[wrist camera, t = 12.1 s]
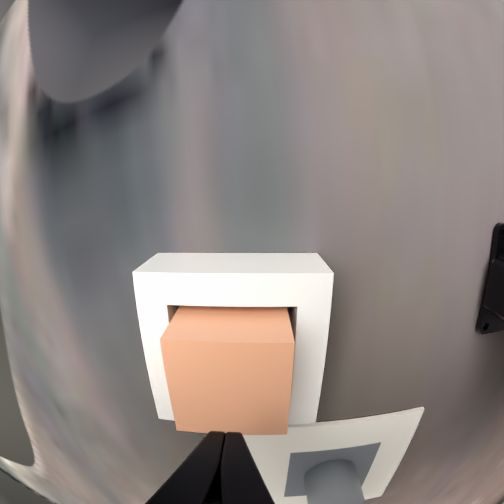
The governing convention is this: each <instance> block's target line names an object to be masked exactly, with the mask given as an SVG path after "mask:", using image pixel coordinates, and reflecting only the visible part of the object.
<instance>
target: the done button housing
mask: <svg viewBox="0 0 504 504" xmlns="http://www.w3.org/2000/svg"><path fill="white" fill-rule="evenodd" d="M333 276H334V273H333V271H332V270H331V269H330V268H329V267H328V265H327V264H326V263H325V262H324V261H323V259H322V258H321V257H320V256H319V255H318V253H157V254H156V255H154V256H153V257H152V258H150V259H149V260H148V261H146V262H145V263H144V264H142V265H141V266H140V267H138V268H137V269H136V270H134V271H133V281H134V289H135V297H136V304H137V312H138V318H139V325H140V331H141V337H142V343H143V348H144V354H145V359H146V364H147V369H148V374H149V379H150V383H151V388H152V392H153V397H154V401H155V405H156V409H157V413H158V417H159V419H166V420H174V416H173V411H172V406H171V401H170V396H169V391H168V386H167V381H166V375H165V369H164V364H163V357H162V351H161V345H160V338H161V336H162V335H163V333H164V331H165V330H166V328H167V326H168V325H169V323H170V321H171V320H172V318H173V316H174V315H175V313H176V311H177V310H178V308H179V306H180V305H185V306H226V307H288V314H289V318H290V323H291V327H292V332H293V336H294V341H295V349H294V363H293V375H292V388H291V399H290V410H289V420H288V425H293V424H311V423H316V417H317V411H318V405H319V399H320V392H321V386H322V379H323V372H324V364H325V357H326V349H327V340H328V331H329V322H330V312H331V301H332V289H333ZM174 421H175V420H174Z"/></svg>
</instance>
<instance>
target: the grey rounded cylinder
mask: <svg viewBox="0 0 504 504" xmlns="http://www.w3.org/2000/svg"><path fill="white" fill-rule="evenodd" d="M304 480H305V488H306V495H307V503H308V504H366V502H365V498H364V495H363V491H362V488H361V484H360V481H359V478H358V474H357V471H356V468H355V465H354V463H352V462H351V461H348V460H343V459H337V460H330V461H326V462H323V463H320V464H317V465H315V466H314V467H312V468H311V469H309V470H308V471H307V472H306V474H305V476H304Z"/></svg>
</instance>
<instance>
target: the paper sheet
mask: <svg viewBox="0 0 504 504" xmlns="http://www.w3.org/2000/svg"><path fill="white" fill-rule="evenodd" d="M424 410H425V409H424V407H418V408H413V409H409V410H404V411H399V412H393V413H388V414H382V415H376V416H369V417H362V418H355V419H347V420H338V421H327V422H316V423H311V424H293V425H288V430H287V434H286V435H243V437H244V439H245V441H246V444H247V446H248V448H249V450H250V453H251V455H252V457H253V459H254V461H255V463H256V466H257V468H258V470H259V472H260V474H261V476H262V478H263V480H264V482H265V484H266V487H267V489H268V491H269V493H270V495H271V497H272V499H273V501H274V503H275V504H308V503H307V495H306V488H305V480H304V476H305V474H306V472H307V471H308V470H309V469H311V468H312V467H314V466H315V465H317V464H320V463H323V462H326V461H330V460H337V459H343V460H348V461H351V462H352V463H354V465H355V468H356V471H357V474H358V478H359V481H360V484H361V488H362V491H363V495H364V498H365V500H366V499H371V498H375V497H380V496H381V495H382V494H383V492H384V490H385V489H386V487H387V485H388V484H389V482H390V480H391V478H392V477H393V475H394V473H395V471H396V469H397V467H398V466H399V464H400V462H401V460H402V458H403V456H404V454H405V452H406V450H407V448H408V446H409V444H410V442H411V439H412V437H413V435H414V433H415V431H416V428H417V426H418V424H419V422H420V419H421V417H422V414H423V412H424Z"/></svg>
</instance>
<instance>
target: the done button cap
mask: <svg viewBox="0 0 504 504" xmlns="http://www.w3.org/2000/svg"><path fill="white" fill-rule="evenodd" d="M160 345H161V351H162V357H163V364H164V369H165V375H166V381H167V386H168V391H169V396H170V401H171V406H172V411H173V416H174V420H175V425H176V429H177V430H178V431H188V432H199V433H209V432H210V431H223V432H225V433H226V432H241V433H242V435H286V434H287V430H288V420H289V410H290V399H291V388H292V375H293V363H294V349H295V341H294V336H293V332H292V327H291V323H290V318H289V314H288V310H287V307H226V306H185V305H180V306H179V308H178V310H177V311H176V313H175V315H174V316H173V318H172V320H171V321H170V323H169V325H168V326H167V328H166V330H165V331H164V333H163V335H162V336H161V338H160Z"/></svg>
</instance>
